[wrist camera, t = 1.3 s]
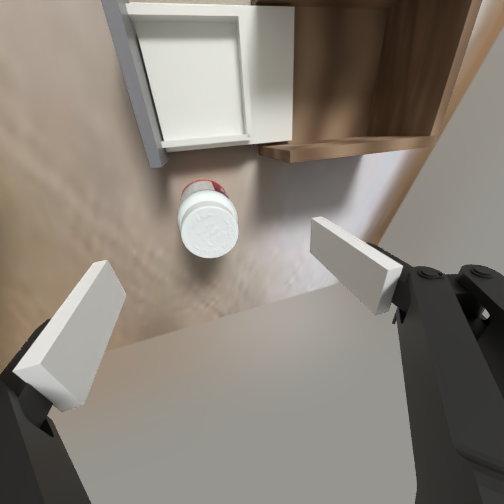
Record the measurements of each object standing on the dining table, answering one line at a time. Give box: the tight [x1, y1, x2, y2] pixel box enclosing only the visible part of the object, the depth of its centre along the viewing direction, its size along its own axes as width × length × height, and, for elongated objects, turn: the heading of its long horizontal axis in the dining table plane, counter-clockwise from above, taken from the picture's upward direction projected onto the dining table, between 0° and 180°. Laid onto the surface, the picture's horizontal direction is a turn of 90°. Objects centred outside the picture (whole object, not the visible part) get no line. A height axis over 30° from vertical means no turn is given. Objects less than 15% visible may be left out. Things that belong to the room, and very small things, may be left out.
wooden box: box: [252, 0, 482, 163], centre depth 21 cm, size 16×14×10 cm
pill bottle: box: [177, 179, 238, 258], centre depth 24 cm, size 6×6×11 cm
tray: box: [101, 0, 295, 168], centre depth 20 cm, size 16×13×6 cm
